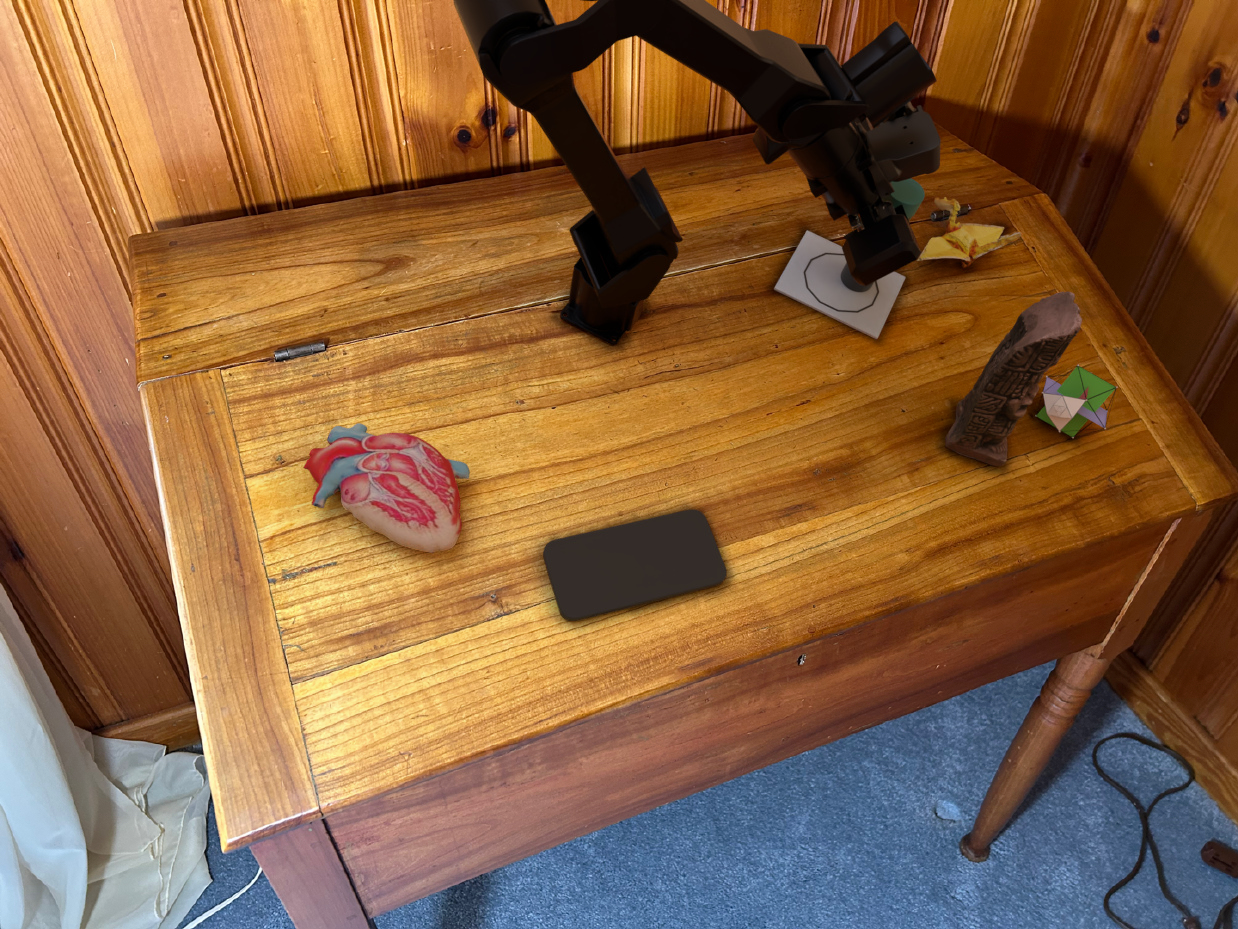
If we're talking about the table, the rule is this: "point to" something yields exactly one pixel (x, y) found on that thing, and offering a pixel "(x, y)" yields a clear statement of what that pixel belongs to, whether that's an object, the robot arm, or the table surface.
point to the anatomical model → (392, 485)
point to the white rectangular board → (836, 286)
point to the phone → (633, 564)
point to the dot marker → (904, 194)
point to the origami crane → (964, 238)
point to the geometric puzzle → (1075, 401)
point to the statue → (1013, 378)
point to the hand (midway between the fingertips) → (892, 236)
